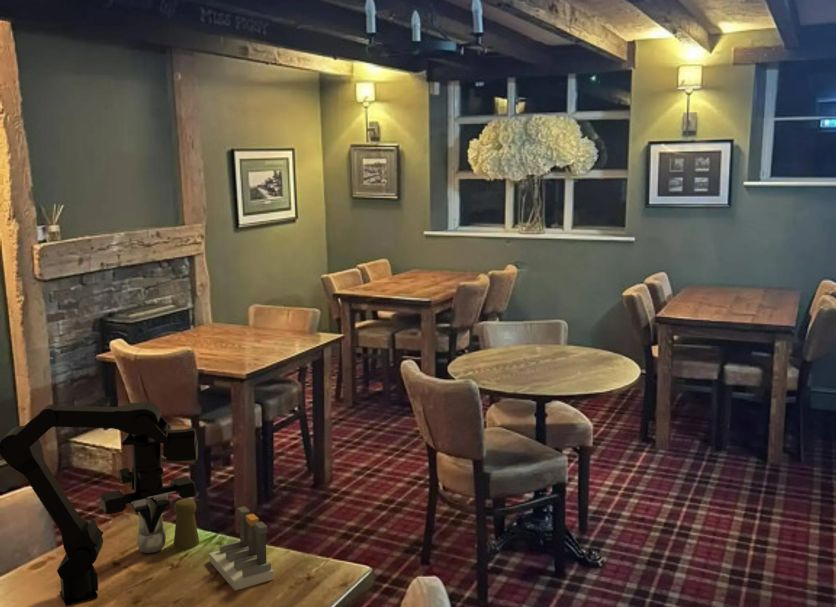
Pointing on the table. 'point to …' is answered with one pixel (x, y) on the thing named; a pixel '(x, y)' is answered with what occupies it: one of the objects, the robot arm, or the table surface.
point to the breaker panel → (240, 566)
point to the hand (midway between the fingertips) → (150, 532)
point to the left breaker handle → (243, 526)
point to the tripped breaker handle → (252, 534)
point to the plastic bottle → (150, 536)
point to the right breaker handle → (261, 542)
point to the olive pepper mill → (185, 524)
